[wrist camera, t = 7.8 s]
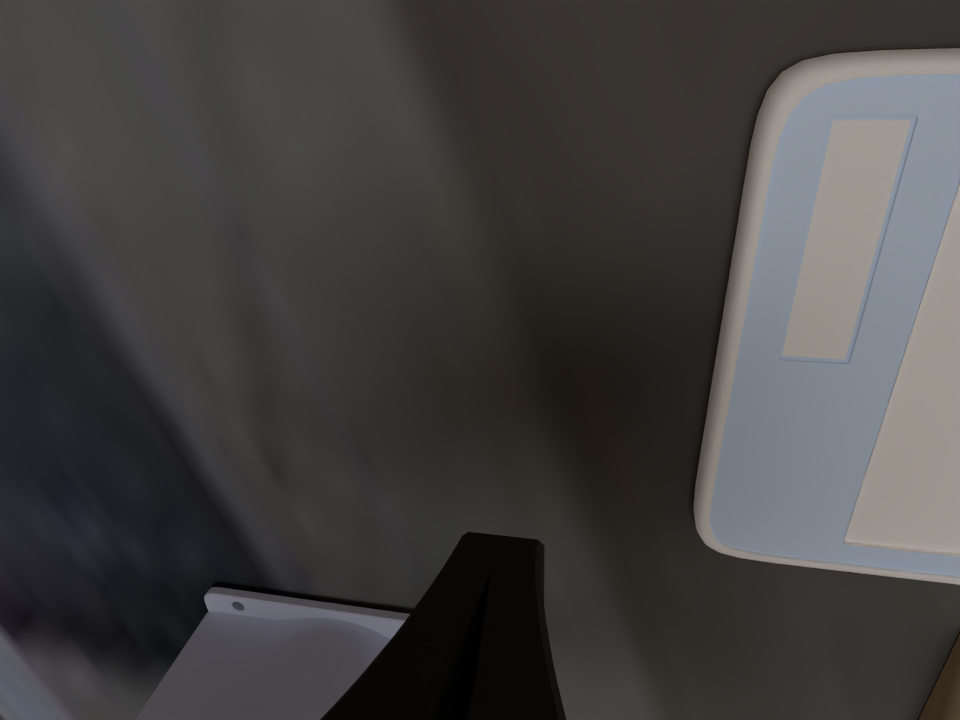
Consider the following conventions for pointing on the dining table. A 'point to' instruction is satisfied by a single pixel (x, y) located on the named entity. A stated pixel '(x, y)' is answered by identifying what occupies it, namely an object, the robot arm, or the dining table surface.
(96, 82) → the dining table surface
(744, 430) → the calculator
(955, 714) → the joist ends
